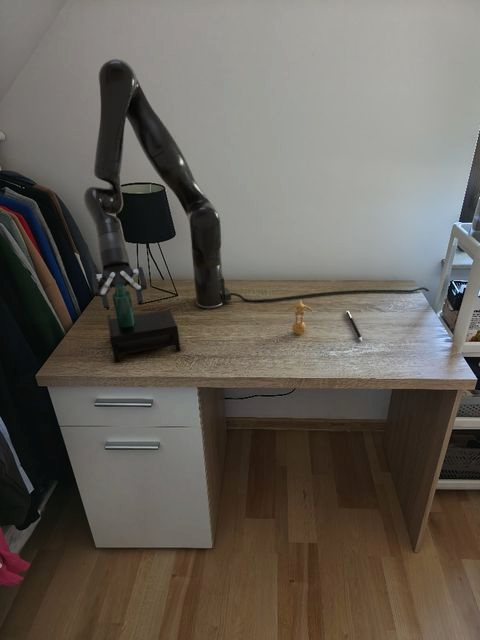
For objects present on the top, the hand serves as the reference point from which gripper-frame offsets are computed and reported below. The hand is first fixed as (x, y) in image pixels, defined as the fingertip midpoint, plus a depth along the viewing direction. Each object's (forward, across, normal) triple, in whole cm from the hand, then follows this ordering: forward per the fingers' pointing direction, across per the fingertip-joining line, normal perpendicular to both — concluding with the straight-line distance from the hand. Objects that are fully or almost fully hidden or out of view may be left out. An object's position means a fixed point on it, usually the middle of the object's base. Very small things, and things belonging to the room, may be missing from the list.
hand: (124, 306), depth 132 cm
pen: (+16, +66, +2) cm, 68 cm away
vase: (+3, 0, +5) cm, 6 cm away
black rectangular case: (+10, +4, +9) cm, 14 cm away
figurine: (+17, +48, +2) cm, 51 cm away
